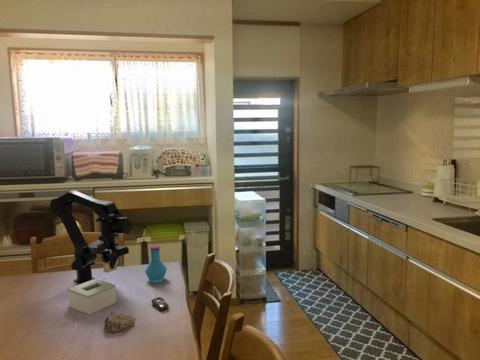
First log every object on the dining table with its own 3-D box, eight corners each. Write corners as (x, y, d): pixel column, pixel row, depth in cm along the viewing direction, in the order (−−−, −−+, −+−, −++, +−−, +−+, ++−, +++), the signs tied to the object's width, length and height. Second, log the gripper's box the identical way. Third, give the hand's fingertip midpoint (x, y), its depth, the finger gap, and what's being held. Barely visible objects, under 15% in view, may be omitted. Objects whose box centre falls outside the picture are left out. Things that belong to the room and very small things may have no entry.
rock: (104, 336, 128) (135, 326, 130) (100, 318, 128) (131, 308, 131) (107, 330, 136) (136, 320, 139) (103, 313, 137) (132, 304, 139)
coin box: (69, 306, 149) (68, 288, 148) (96, 295, 159) (95, 278, 158) (89, 314, 143) (87, 295, 142) (116, 302, 153) (115, 284, 152)
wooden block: (103, 271, 167) (103, 262, 167) (113, 268, 172) (112, 259, 171) (107, 272, 166) (106, 263, 166) (117, 269, 170) (116, 260, 170)
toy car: (160, 312, 144) (159, 291, 143) (146, 301, 153) (145, 282, 152) (170, 309, 146) (169, 289, 145) (155, 298, 156) (154, 279, 155)
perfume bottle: (169, 275, 179) (168, 243, 178) (163, 283, 170) (162, 249, 168) (149, 275, 180) (148, 243, 178) (142, 283, 171) (141, 249, 169)
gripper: (77, 233, 165) (80, 269, 167) (106, 239, 155) (108, 278, 157) (100, 227, 174) (102, 262, 176) (128, 233, 164) (130, 269, 166)
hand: (110, 267), depth 169 cm, fingers closed on wooden block, 2 cm apart
